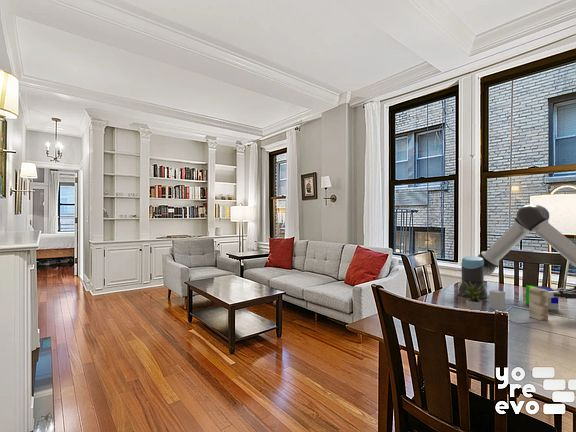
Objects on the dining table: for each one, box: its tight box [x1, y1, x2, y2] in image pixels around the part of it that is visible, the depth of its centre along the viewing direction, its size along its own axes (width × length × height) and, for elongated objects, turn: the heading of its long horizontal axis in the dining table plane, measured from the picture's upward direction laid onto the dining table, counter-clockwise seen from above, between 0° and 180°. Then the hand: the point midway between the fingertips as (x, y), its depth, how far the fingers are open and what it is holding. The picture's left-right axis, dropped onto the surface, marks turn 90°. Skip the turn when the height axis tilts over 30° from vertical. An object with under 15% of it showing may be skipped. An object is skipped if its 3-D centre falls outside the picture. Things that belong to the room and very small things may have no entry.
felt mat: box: [508, 314, 541, 325], centre depth 145 cm, size 12×9×1 cm
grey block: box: [488, 289, 506, 311], centre depth 162 cm, size 5×5×9 cm
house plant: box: [459, 281, 489, 312], centre depth 157 cm, size 14×14×16 cm
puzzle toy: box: [525, 285, 559, 311], centre depth 165 cm, size 10×10×10 cm
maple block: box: [528, 288, 549, 321], centre depth 147 cm, size 5×5×14 cm
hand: (546, 294), depth 146 cm, fingers closed
